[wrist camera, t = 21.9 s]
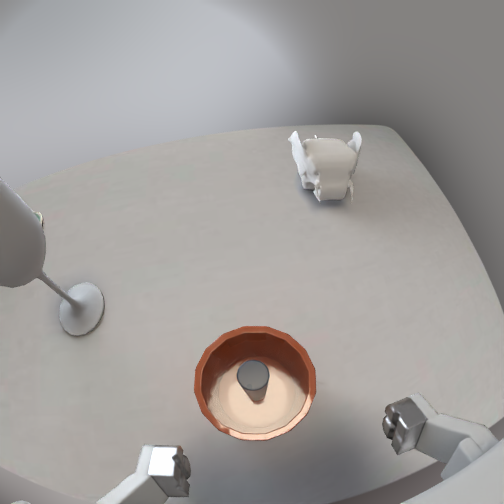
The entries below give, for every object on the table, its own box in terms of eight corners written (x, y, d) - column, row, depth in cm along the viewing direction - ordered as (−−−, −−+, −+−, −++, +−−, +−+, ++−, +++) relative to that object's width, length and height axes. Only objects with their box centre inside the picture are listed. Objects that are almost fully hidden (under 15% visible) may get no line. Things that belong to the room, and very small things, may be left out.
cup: (316, 390, 25) (339, 379, 17) (255, 448, 22) (253, 463, 14) (257, 337, 28) (255, 304, 21) (197, 389, 25) (170, 377, 18)
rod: (270, 391, 24) (276, 375, 14) (256, 404, 24) (252, 397, 14) (256, 379, 25) (253, 353, 15) (243, 391, 25) (229, 374, 14)
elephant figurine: (298, 219, 36) (305, 167, 29) (282, 161, 43) (285, 113, 35) (364, 215, 36) (383, 166, 29) (339, 159, 43) (349, 114, 36)
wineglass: (50, 319, 29) (-62, 221, 11) (79, 273, 33) (-14, 157, 15) (85, 348, 27) (-53, 248, 10) (116, 296, 31) (10, 164, 13)
